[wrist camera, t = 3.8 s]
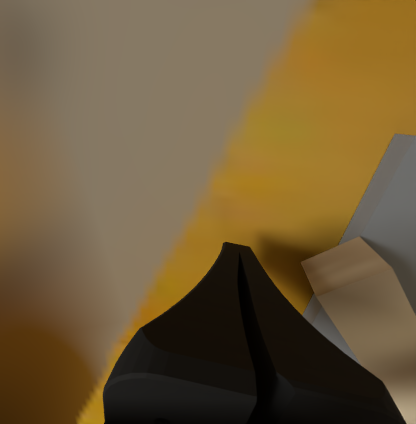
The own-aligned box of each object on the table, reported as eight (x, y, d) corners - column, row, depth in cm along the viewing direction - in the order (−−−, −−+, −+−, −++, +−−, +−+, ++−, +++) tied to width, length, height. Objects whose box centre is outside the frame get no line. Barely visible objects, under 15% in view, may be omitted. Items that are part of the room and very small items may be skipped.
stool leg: (448, 408, 15) (485, 459, 12) (400, 416, 16) (427, 465, 13) (359, 236, 10) (392, 268, 8) (300, 262, 11) (316, 296, 9)
